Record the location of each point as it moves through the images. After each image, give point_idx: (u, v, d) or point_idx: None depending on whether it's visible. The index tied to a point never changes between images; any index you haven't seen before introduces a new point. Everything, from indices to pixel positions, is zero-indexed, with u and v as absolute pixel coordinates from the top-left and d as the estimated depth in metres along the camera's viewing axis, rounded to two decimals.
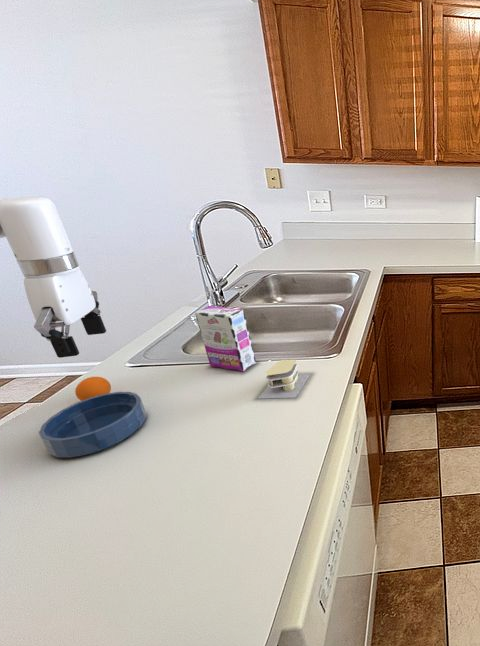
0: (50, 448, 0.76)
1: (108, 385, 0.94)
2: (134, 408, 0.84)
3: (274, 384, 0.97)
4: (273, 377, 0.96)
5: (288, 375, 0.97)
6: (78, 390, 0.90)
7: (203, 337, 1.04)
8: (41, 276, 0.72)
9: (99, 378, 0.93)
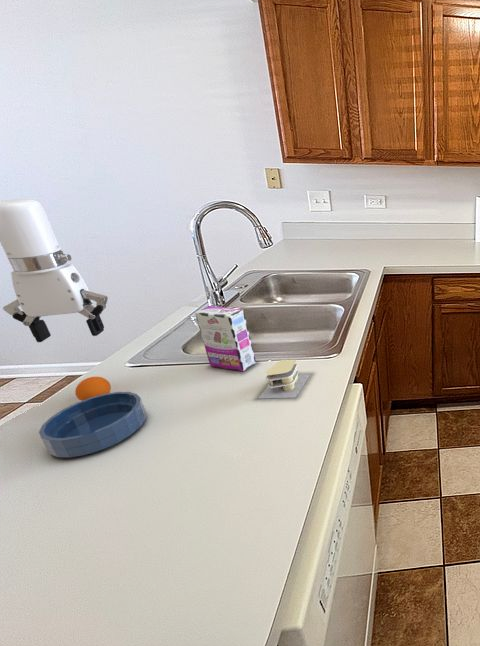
0: (50, 448, 0.76)
1: (108, 385, 0.94)
2: (134, 408, 0.84)
3: (274, 384, 0.97)
4: (273, 377, 0.96)
5: (288, 375, 0.97)
6: (78, 390, 0.90)
7: (203, 337, 1.04)
8: None
9: (99, 378, 0.93)
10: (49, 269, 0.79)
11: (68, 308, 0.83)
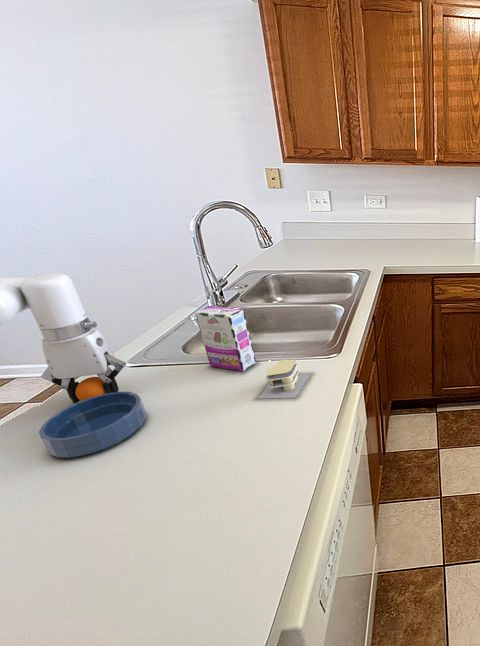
0: (50, 448, 0.76)
1: None
2: (134, 408, 0.84)
3: (274, 384, 0.97)
4: (273, 377, 0.96)
5: (288, 375, 0.97)
6: (78, 390, 0.90)
7: (203, 337, 1.04)
8: None
9: (99, 378, 0.93)
10: (77, 337, 0.86)
11: (93, 370, 0.90)
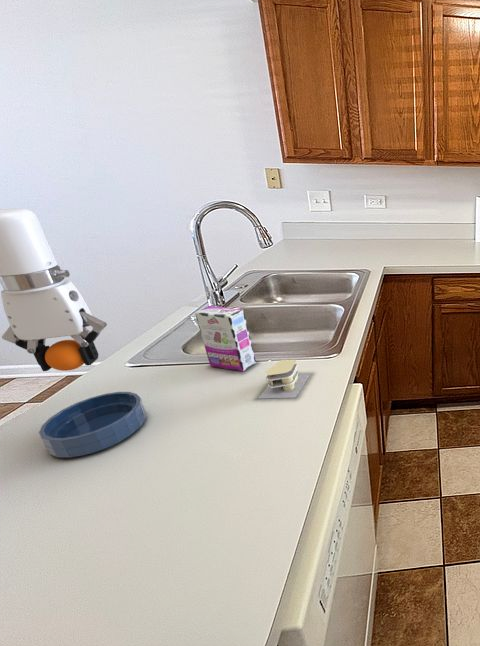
0: (50, 448, 0.76)
1: None
2: (134, 408, 0.84)
3: (274, 384, 0.97)
4: (273, 377, 0.96)
5: (288, 375, 0.97)
6: (48, 354, 0.75)
7: (203, 337, 1.04)
8: None
9: (74, 341, 0.78)
10: (44, 287, 0.70)
11: (66, 330, 0.74)
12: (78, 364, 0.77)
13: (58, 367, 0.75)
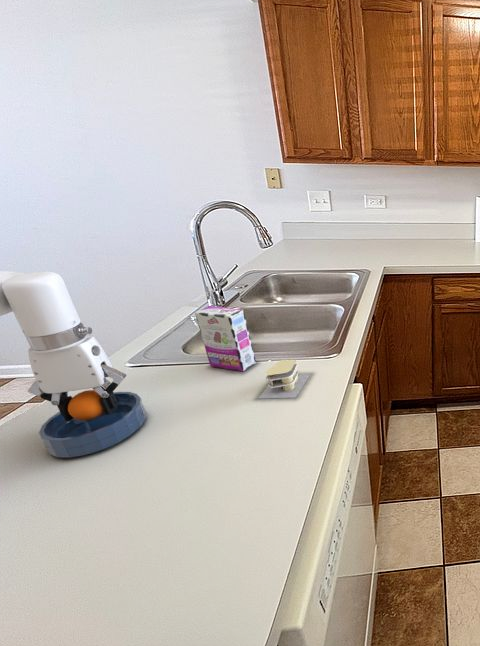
0: (50, 448, 0.76)
1: None
2: (134, 408, 0.84)
3: (274, 384, 0.97)
4: (273, 377, 0.96)
5: (288, 375, 0.97)
6: (71, 406, 0.78)
7: (203, 337, 1.04)
8: None
9: (95, 392, 0.81)
10: (69, 345, 0.74)
11: (88, 383, 0.78)
12: (99, 414, 0.81)
13: (80, 418, 0.79)
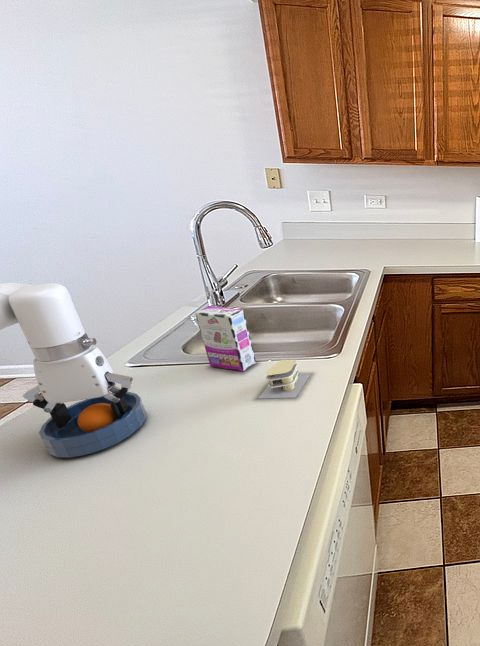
0: (50, 448, 0.76)
1: None
2: (134, 408, 0.84)
3: (274, 384, 0.97)
4: (273, 377, 0.96)
5: (288, 375, 0.97)
6: (82, 418, 0.80)
7: (203, 337, 1.04)
8: None
9: (107, 406, 0.83)
10: (74, 356, 0.75)
11: (92, 393, 0.79)
12: None
13: (89, 431, 0.80)
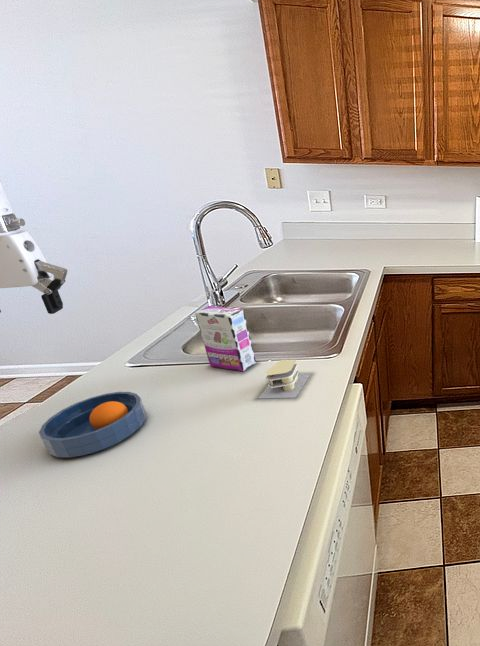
0: (50, 448, 0.76)
1: None
2: (134, 408, 0.84)
3: (274, 384, 0.97)
4: (273, 377, 0.96)
5: (288, 375, 0.97)
6: (102, 414, 0.81)
7: (203, 337, 1.04)
8: None
9: (126, 409, 0.84)
10: None
11: (20, 280, 0.73)
12: None
13: (96, 427, 0.81)
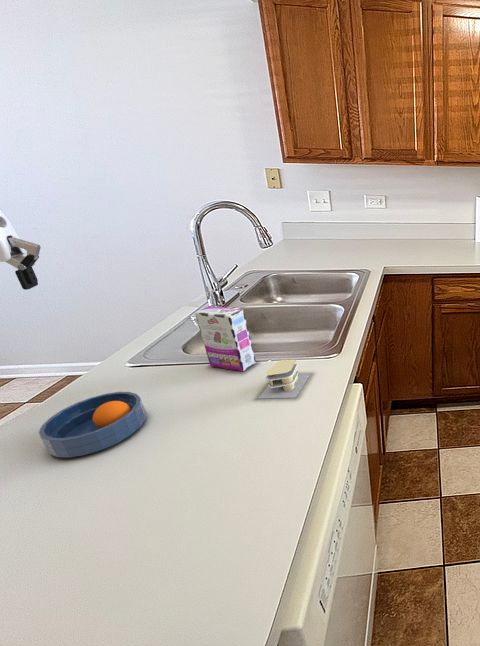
0: (50, 448, 0.76)
1: None
2: (134, 408, 0.84)
3: (274, 384, 0.97)
4: (273, 377, 0.96)
5: (288, 375, 0.97)
6: (107, 413, 0.81)
7: (203, 337, 1.04)
8: None
9: None
10: None
11: None
12: None
13: (99, 425, 0.81)
